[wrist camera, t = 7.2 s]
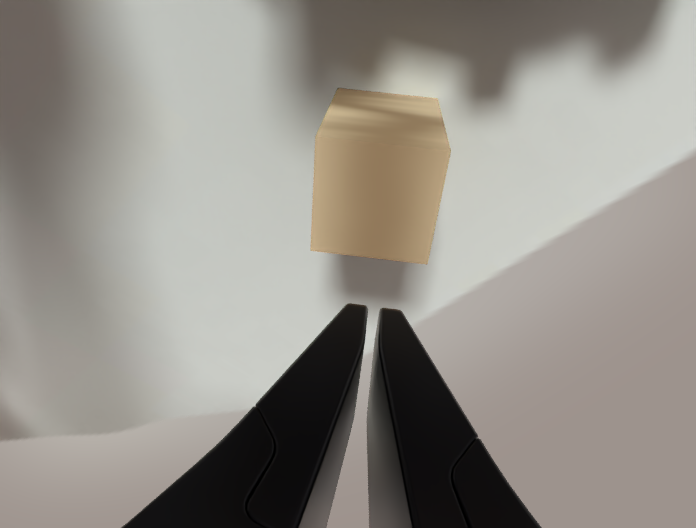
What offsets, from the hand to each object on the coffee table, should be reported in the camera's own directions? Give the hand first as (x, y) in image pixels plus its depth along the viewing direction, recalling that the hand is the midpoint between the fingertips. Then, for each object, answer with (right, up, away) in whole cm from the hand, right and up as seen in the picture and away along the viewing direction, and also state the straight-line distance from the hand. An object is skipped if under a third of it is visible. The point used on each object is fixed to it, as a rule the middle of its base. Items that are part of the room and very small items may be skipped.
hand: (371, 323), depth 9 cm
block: (+1, +6, +11) cm, 13 cm away
